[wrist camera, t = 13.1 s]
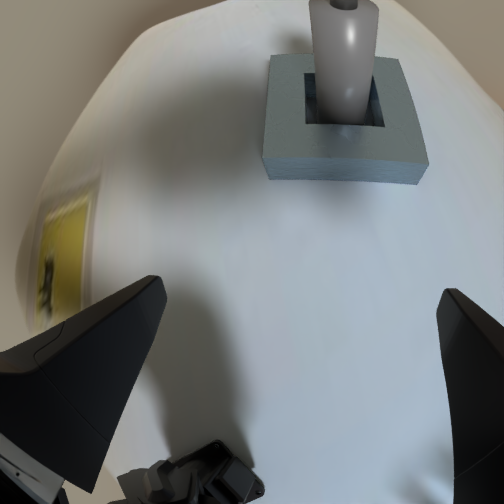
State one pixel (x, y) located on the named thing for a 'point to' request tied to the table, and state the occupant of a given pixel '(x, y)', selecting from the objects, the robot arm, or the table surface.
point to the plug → (343, 58)
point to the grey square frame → (341, 129)
